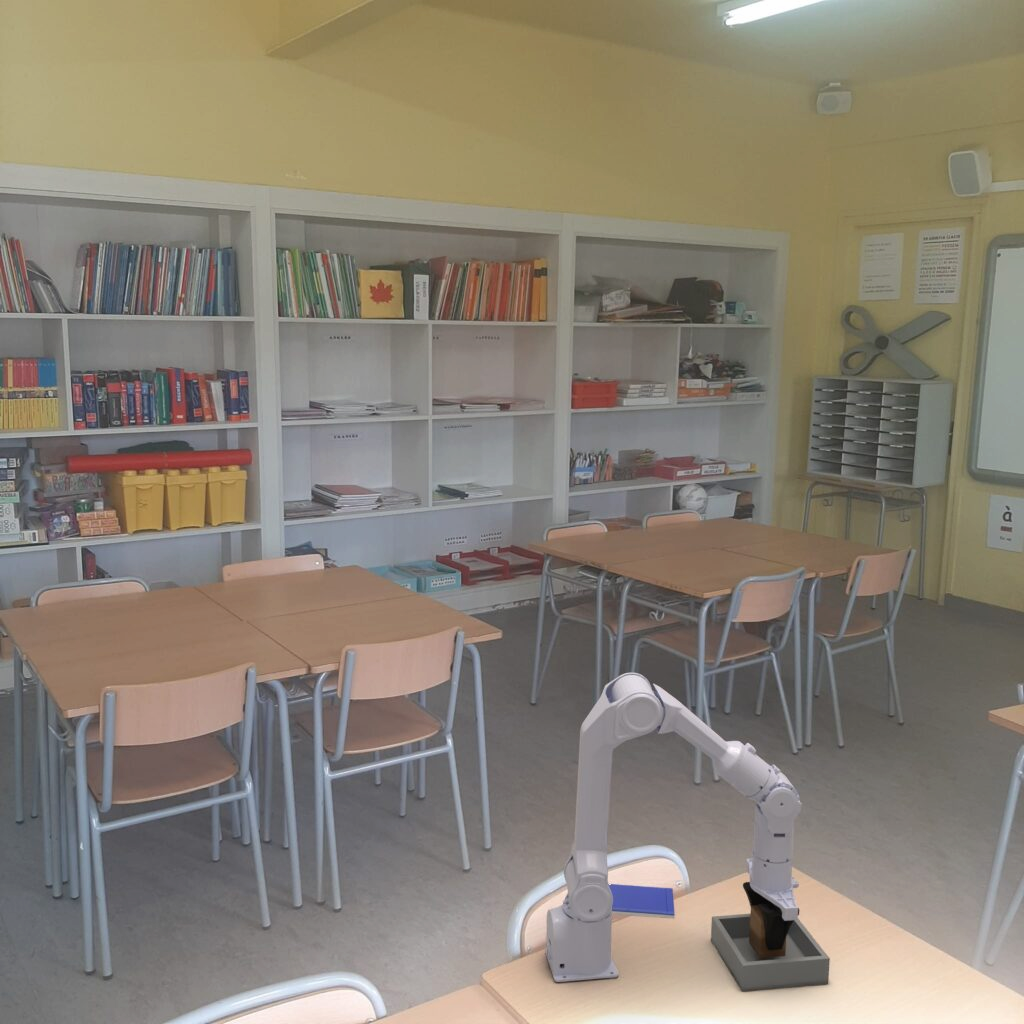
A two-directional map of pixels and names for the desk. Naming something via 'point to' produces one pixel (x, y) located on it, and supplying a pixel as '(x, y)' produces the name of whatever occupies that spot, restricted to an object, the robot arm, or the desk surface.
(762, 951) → the walnut block
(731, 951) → the grey bin
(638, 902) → the hard drive
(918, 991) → the desk surface
